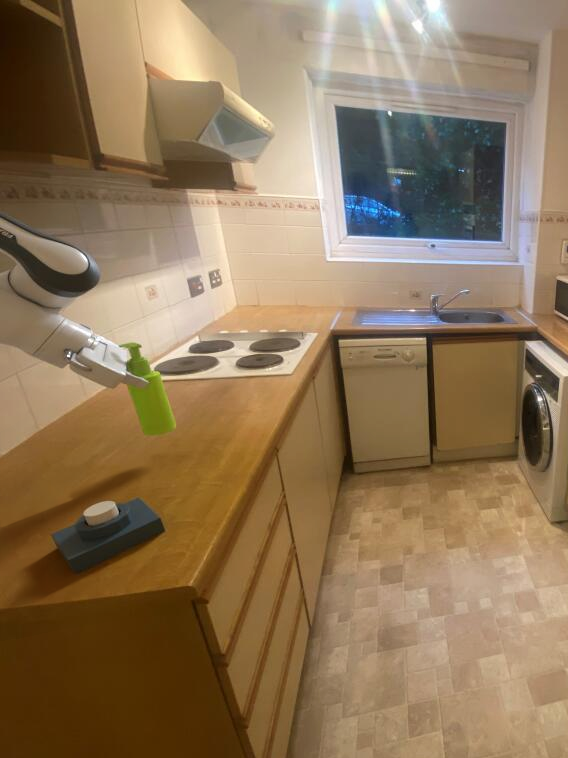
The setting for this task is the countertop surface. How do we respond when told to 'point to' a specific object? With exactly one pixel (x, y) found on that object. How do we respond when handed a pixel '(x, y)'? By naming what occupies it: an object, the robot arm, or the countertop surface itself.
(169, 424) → the soap dispenser
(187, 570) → the countertop surface
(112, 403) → the countertop surface
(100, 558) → the button housing
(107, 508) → the button
